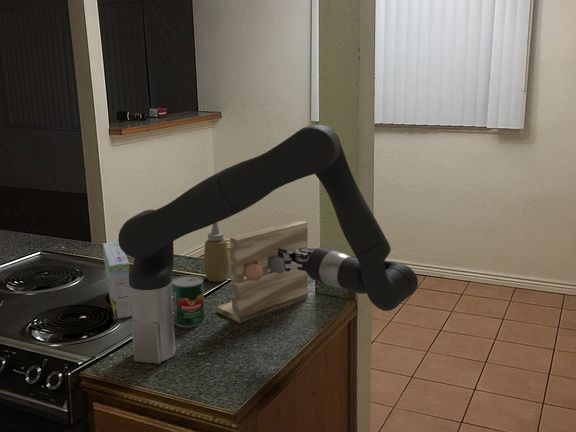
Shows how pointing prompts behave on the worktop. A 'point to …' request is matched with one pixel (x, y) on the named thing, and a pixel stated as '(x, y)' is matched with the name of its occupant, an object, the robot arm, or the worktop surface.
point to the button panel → (265, 272)
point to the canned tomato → (188, 301)
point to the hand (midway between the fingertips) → (279, 251)
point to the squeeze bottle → (216, 256)
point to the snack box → (117, 279)
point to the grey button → (276, 264)
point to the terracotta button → (253, 271)
